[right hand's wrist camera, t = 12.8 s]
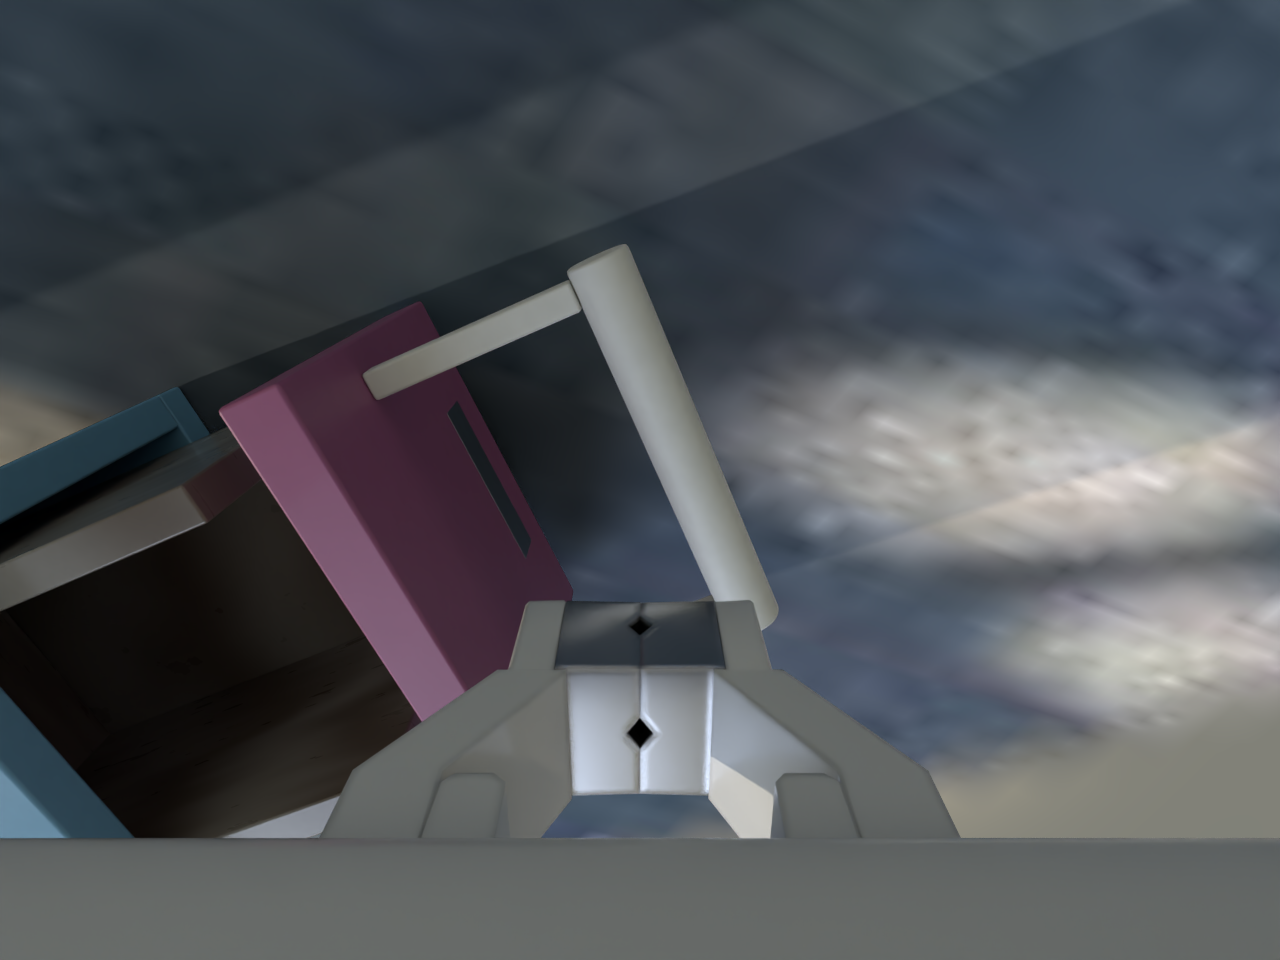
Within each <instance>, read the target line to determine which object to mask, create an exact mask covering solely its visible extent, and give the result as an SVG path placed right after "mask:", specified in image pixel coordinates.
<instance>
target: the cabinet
mask: <svg viewBox="0 0 1280 960" xmlns="http://www.w3.org/2000/svg"><path fill="white" fill-rule="evenodd" d="M207 435H210V433H209V432H208V430H207V429H206V427H205V426H204V424H203V423H202V421H201V420H200V418H199V417H198V415H197V414H196V412H195V411H194V409H193V408H192V406H191V405H190V403H189V402H188V400H187V399H186V397H185V396H184V394H183V393H182V391H181V390H180V388H178V387H174V388H172V389H170V390H168V391H166V392H163V393H161V394H159V395H157V396H155V397H152V398H150V399H148V400H146V401H144V402H141V403H139V404H137V405H135V406H133V407H130V408H128V409H126V410H124V411H122V412H120V413H117V414H115V415H113V416H111V417H109V418H106V419H104V420H102V421H100V422H98V423H95V424H93V425H91V426H89V427H87V428H84V429H82V430H80V431H78V432H76V433H73V434H71V435H69V436H67V437H65V438H62V439H60V440H58V441H56V442H54V443H52V444H49V445H47V446H45V447H43V448H41V449H38V450H36V451H34V452H32V453H30V454H27V455H25V456H23V457H21V458H19V459H16V460H14V461H12V462H10V463H8V464H5V465H3V466H1V467H0V528H2V527H4V526H6V525H8V524H11V523H13V522H15V521H17V520H19V519H22V518H24V517H26V516H28V515H31V514H33V513H35V512H37V511H40V510H42V509H44V508H46V507H49V506H51V505H53V504H55V503H58V502H60V501H62V500H64V499H66V498H69V497H71V496H73V495H75V494H78V493H80V492H82V491H84V490H87V489H89V488H91V487H93V486H96V485H98V484H100V483H102V482H104V481H107V480H109V479H111V478H113V477H116V476H118V475H120V474H122V473H125V472H127V471H129V470H131V469H134V468H136V467H138V466H140V465H143V464H145V463H147V462H149V461H151V460H154V459H156V458H158V457H160V456H163V455H165V454H167V453H169V452H172V451H174V450H176V449H178V448H181V447H183V446H185V445H187V444H189V443H192V442H194V441H196V440H198V439H201V438H203V437H205V436H207ZM0 838H135V837H134V836H133V835H132V834H131V833H130V832H129V831H128V829H127V828H126V827H125V826H124V825H123V824H122V823H121V822H120V820H119V819H118V818H117V817H116V816H115V815H114V814H113V813H112V811H111V810H110V809H109V808H108V807H107V806H106V805H105V804H104V802H103V801H102V800H101V799H100V798H99V797H98V796H97V795H96V794H95V792H94V791H93V790H92V789H91V788H90V787H89V786H88V785H87V783H86V782H85V781H84V780H83V779H82V778H81V777H80V776H79V774H78V773H77V772H76V771H75V770H74V769H73V768H72V767H71V765H70V764H69V763H68V762H67V761H66V760H65V759H64V758H63V757H62V755H61V754H60V753H59V752H58V751H57V750H56V749H55V748H54V746H53V745H52V744H51V743H50V742H49V741H48V740H47V739H46V737H45V736H44V735H43V734H42V733H41V732H40V731H39V730H38V728H37V727H36V726H35V725H34V724H33V723H32V722H31V721H30V719H29V718H28V717H27V716H26V715H25V714H24V713H23V712H22V711H21V709H20V708H19V707H18V706H17V705H16V704H15V703H14V702H13V700H12V699H11V698H10V697H9V696H8V695H7V694H6V693H5V691H4V690H3V689H2V688H1V687H0Z"/></svg>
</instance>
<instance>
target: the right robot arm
mask: <svg viewBox="0 0 1280 960" xmlns="http://www.w3.org/2000/svg"><path fill="white" fill-rule="evenodd" d="M639 793H640V794H675V795H709V800H710V801H711V802H712V803H713V805H714V806H715V807H716V808H717V810H718V811H719V812H720V813H721V815H722V816H723V817H724V818H725V820H726V821H727V822H728V823H729V825H730V826H731V827H732V828H733V830H734V831H735V832H736V834H737V835H738V836H739V837H740V838H541V837H542V835H543V834H544V833H545V832H546V830H547V829H548V828H549V827H550V825H551V824H552V823H553V822H554V820H555V819H556V818H557V817H558V815H559V814H560V813H561V812H562V810H563V809H564V808H565V807H566V805H567V804H568V803H569V802H570V800H571V795H604V794H639ZM0 960H1280V838H961V837H960V835H959V833H958V831H957V829H956V827H955V825H954V823H953V821H952V819H951V817H950V815H949V813H948V811H947V809H946V807H945V804H944V802H943V800H942V798H941V796H940V794H939V792H938V790H937V788H936V786H935V784H934V782H933V780H932V778H931V776H930V773H929V771H928V770H926V769H925V768H923V767H922V766H920V765H919V764H917V763H916V762H915V761H913V760H912V759H910V758H909V757H907V756H906V755H905V754H903V753H902V752H900V751H899V750H897V749H896V748H894V747H893V746H892V745H890V744H889V743H887V742H886V741H884V740H883V739H882V738H880V737H879V736H877V735H876V734H874V733H873V732H872V731H870V730H869V729H867V728H866V727H864V726H863V725H861V724H860V723H859V722H857V721H856V720H854V719H853V718H851V717H850V716H849V715H847V714H846V713H844V712H843V711H841V710H840V709H838V708H837V707H836V706H834V705H833V704H831V703H830V702H828V701H827V700H826V699H824V698H823V697H821V696H820V695H818V694H817V693H815V692H814V691H813V690H811V689H810V688H808V687H807V686H805V685H804V684H803V683H801V682H800V681H798V680H797V679H795V678H794V677H793V676H791V675H790V674H788V673H787V672H785V671H784V670H772V668H771V664H770V661H769V657H768V653H767V650H766V646H765V642H764V639H763V635H762V631H761V628H760V624H759V621H758V617H757V613H756V610H755V606H754V603H753V602H752V601H751V600H736V601H696V602H654V603H640V602H604V601H567V602H565V601H564V600H545V601H529V602H528V603H527V604H526V605H525V609H524V612H523V616H522V620H521V624H520V627H519V631H518V635H517V638H516V642H515V646H514V649H513V653H512V657H511V660H510V664H509V668H508V670H496V671H495V672H493V673H492V674H490V675H489V676H488V677H486V678H485V679H483V680H482V681H480V682H479V683H477V684H476V685H475V686H473V687H472V688H470V689H469V690H467V691H466V692H464V693H463V694H462V695H460V696H459V697H457V698H456V699H454V700H453V701H451V702H450V703H449V704H447V705H446V706H444V707H443V708H441V709H440V710H438V711H437V712H436V713H434V714H433V715H431V716H430V717H428V718H427V719H425V720H424V721H423V722H421V723H420V724H418V725H417V726H415V727H414V728H412V729H411V730H410V731H408V732H407V733H405V734H404V735H402V736H401V737H399V738H398V739H397V740H395V741H394V742H392V743H391V744H389V745H388V746H386V747H385V748H384V749H382V750H381V751H379V752H378V753H376V754H375V755H373V756H372V757H371V758H369V759H368V760H366V761H365V762H363V763H362V764H360V765H359V766H358V767H356V768H355V769H353V770H352V772H351V774H350V776H349V778H348V780H347V782H346V785H345V787H344V789H343V791H342V793H341V795H340V797H339V799H338V801H337V803H336V805H335V807H334V809H333V811H332V813H331V815H330V817H329V819H328V821H327V823H326V825H325V827H324V829H323V831H322V833H321V835H320V837H319V838H0Z"/></svg>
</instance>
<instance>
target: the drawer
mask: <svg viewBox="0 0 1280 960" xmlns="http://www.w3.org/2000/svg"><path fill="white" fill-rule="evenodd" d="M567 275H568V277H569V279H570V280H567V281H564V282H562V283H560V284H558V285H556V286H553V287H551V288H549V289H547V290H544V291H542V292H540V293H538V294H535V295H533V296H531V297H529V298H526V299H524V300H522V301H520V302H517V303H515V304H513V305H511V306H508V307H506V308H504V309H502V310H499V311H497V312H495V313H493V314H490V315H488V316H486V317H484V318H481V319H479V320H477V321H475V322H473V323H470V324H468V325H466V326H464V327H461V328H459V329H457V330H455V331H452V332H450V333H448V334H446V335H443V336H441V337H440V336H439V334H438V332H437V330H436V328H435V327H434V325H433V323H432V321H431V319H430V317H429V315H428V313H427V311H426V309H425V308H424V306H423V304H422V303H421V302H416V303H414V304H412V305H409V306H407V307H405V308H403V309H401V310H398V311H396V312H394V313H392V314H390V315H387V316H385V317H383V318H381V319H380V320H378V321H376V322H374V323H372V324H371V325H369V326H367V327H365V328H363V329H362V330H360V331H358V332H356V333H354V334H353V335H351V336H349V337H347V338H345V339H344V340H342V341H340V342H338V343H336V344H335V345H333V346H331V347H329V348H327V349H326V350H324V351H322V352H320V353H318V354H316V355H315V356H313V357H311V358H309V359H307V360H306V361H304V362H302V363H300V364H298V365H297V366H295V367H293V368H291V369H289V370H288V371H286V372H284V373H282V374H280V375H279V376H277V377H275V378H273V379H271V380H270V381H268V382H266V383H264V384H262V385H261V386H259V387H257V388H255V389H253V390H252V391H250V392H248V393H246V394H244V395H243V396H241V397H239V398H237V399H235V400H234V401H232V402H230V403H228V404H226V405H225V406H223V407H221V408H220V410H219V414H220V416H221V417H222V419H223V420H224V422H225V423H226V425H227V426H228V427H225V428H223V429H221V430H219V431H216V432H214V433H212V434H210V435H207V436H205V437H203V438H201V439H198V440H196V441H194V442H192V443H189V444H187V445H185V446H183V447H181V448H178V449H176V450H174V451H172V452H169V453H167V454H165V455H163V456H160V457H158V458H156V459H154V460H151V461H149V462H147V463H145V464H143V465H140V466H138V467H136V468H134V469H131V470H129V471H127V472H125V473H122V474H120V475H118V476H116V477H113V478H111V479H109V480H107V481H104V482H102V483H100V484H98V485H96V486H93V487H91V488H89V489H87V490H84V491H82V492H80V493H78V494H75V495H73V496H71V497H69V498H66V499H64V500H62V501H60V502H58V503H55V504H53V505H51V506H49V507H46V508H44V509H42V510H40V511H37V512H35V513H33V514H31V515H28V516H26V517H24V518H22V519H19V520H17V521H15V522H13V523H11V524H8V525H6V526H4V527H2V528H0V687H1V688H2V689H3V690H4V691H5V693H6V694H7V695H8V696H9V697H10V698H11V699H12V700H13V702H14V703H15V704H16V705H17V706H18V707H19V708H20V709H21V711H22V712H23V713H24V714H25V715H26V716H27V717H28V718H29V719H30V721H31V722H32V723H33V724H34V725H35V726H36V727H37V728H38V730H39V731H40V732H41V733H42V734H43V735H44V736H45V737H46V739H47V740H48V741H49V742H50V743H51V744H52V745H53V746H54V748H55V749H56V750H57V751H58V752H59V753H60V754H61V755H62V757H63V758H64V759H65V760H66V761H67V762H68V763H69V764H70V765H71V767H72V768H73V769H74V770H75V771H76V772H77V773H78V774H79V776H80V777H81V778H82V779H83V780H84V781H85V782H86V783H87V785H88V786H89V787H90V788H91V789H92V790H93V791H94V792H95V794H96V795H97V796H98V797H99V798H100V799H101V800H102V801H103V802H104V804H105V805H106V806H107V807H108V808H109V809H110V810H111V811H112V813H113V814H114V815H115V816H116V817H117V818H118V819H119V820H120V822H121V823H122V824H123V825H124V826H125V827H126V828H127V829H128V831H129V832H130V833H131V834H132V835H133V836H134V837H135V838H309V837H312V836H315V835H318V834H321V833H322V831H323V829H324V827H325V825H326V823H327V821H328V819H329V817H330V815H331V813H332V811H333V809H334V807H335V805H336V803H337V801H338V799H339V797H340V795H341V793H342V791H343V789H344V787H345V785H346V782H347V780H348V778H349V776H350V774H351V772H352V770H353V769H355V768H356V767H358V766H359V765H360V764H362V763H363V762H365V761H366V760H368V759H369V758H371V757H372V756H373V755H375V754H376V753H378V752H379V751H381V750H382V749H384V748H385V747H386V746H388V745H389V744H391V743H392V742H394V741H395V740H397V739H398V738H399V737H401V736H402V735H404V734H405V733H407V732H408V731H410V730H411V729H412V728H414V727H415V726H417V725H418V724H420V723H421V722H423V721H424V720H425V719H427V718H428V717H430V716H431V715H433V714H434V713H436V712H437V711H438V710H440V709H441V708H443V707H444V706H446V705H447V704H449V703H450V702H451V701H453V700H454V699H456V698H457V697H459V696H460V695H462V694H463V693H464V692H466V691H467V690H469V689H470V688H472V687H473V686H475V685H476V684H477V683H479V682H480V681H482V680H483V679H485V678H486V677H488V676H489V675H490V674H492V673H493V672H495V671H496V670H508V668H509V664H510V660H511V657H512V653H513V649H514V646H515V642H516V638H517V635H518V631H519V627H520V624H521V620H522V616H523V612H524V609H525V605H526V604H527V603H528V602H529V601H545V600H564V601H565V602H567V601H572V596H573V589H572V587H571V585H570V583H569V581H568V579H567V577H566V576H565V574H564V572H563V570H562V568H561V566H560V564H559V562H558V560H557V558H556V557H555V555H554V553H553V551H552V549H551V547H550V545H549V543H548V541H547V539H546V538H545V536H544V534H543V532H542V530H541V528H540V526H539V524H538V522H537V520H536V519H535V517H534V515H533V513H532V511H531V509H530V507H529V505H528V503H527V501H526V500H525V498H524V496H523V494H522V492H521V490H520V488H519V486H518V484H517V482H516V481H515V479H514V477H513V475H512V473H511V471H510V469H509V467H508V465H507V463H506V462H505V460H504V458H503V456H502V454H501V452H500V450H499V448H498V446H497V444H496V443H495V441H494V439H493V437H492V435H491V433H490V431H489V429H488V427H487V425H486V423H485V422H484V420H483V418H482V416H481V414H480V412H479V410H478V408H477V406H476V404H475V403H474V401H473V399H472V397H471V395H470V393H469V391H468V389H467V387H466V385H465V384H464V382H463V380H462V378H461V376H460V374H459V372H458V370H457V368H456V366H458V365H460V364H462V363H465V362H467V361H469V360H471V359H474V358H476V357H478V356H481V355H483V354H485V353H487V352H490V351H492V350H494V349H497V348H499V347H501V346H503V345H506V344H508V343H510V342H513V341H515V340H517V339H519V338H522V337H524V336H526V335H529V334H531V333H533V332H535V331H538V330H540V329H542V328H544V327H547V326H549V325H551V324H554V323H556V322H558V321H560V320H563V319H565V318H567V317H570V316H572V315H574V314H576V313H579V312H580V311H581V309H582V308H583V310H584V313H585V315H586V317H587V319H588V322H589V324H590V326H591V328H592V330H593V333H594V335H595V337H596V339H597V341H598V344H599V346H600V348H601V350H602V353H603V355H604V357H605V359H606V361H607V364H608V366H609V368H610V370H611V373H612V375H613V377H614V379H615V381H616V384H617V386H618V388H619V390H620V393H621V395H622V397H623V399H624V401H625V404H626V406H627V408H628V410H629V413H630V415H631V417H632V419H633V421H634V424H635V426H636V428H637V430H638V433H639V435H640V437H641V439H642V441H643V444H644V446H645V448H646V450H647V452H648V455H649V457H650V459H651V461H652V464H653V466H654V468H655V470H656V472H657V475H658V477H659V479H660V481H661V484H662V486H663V488H664V490H665V492H666V495H667V497H668V499H669V501H670V504H671V506H672V508H673V510H674V512H675V515H676V517H677V519H678V521H679V524H680V526H681V528H682V530H683V532H684V535H685V537H686V539H687V541H688V544H689V546H690V548H691V550H692V552H693V555H694V557H695V559H696V561H697V564H698V566H699V568H700V570H701V572H702V575H703V577H704V579H705V581H706V583H707V586H708V588H709V590H710V592H711V595H710V596H707V597H704V598H702V599H699V600H696V601H736V600H751V601H752V602H753V603H754V606H755V610H756V613H757V617H758V621H759V624H760V628H761V630H763V629H765V628H766V627H768V626H769V625H770V624H771V623H772V622H773V621H774V620H775V619H776V617H777V615H778V605H777V602H776V600H775V597H774V595H773V593H772V590H771V588H770V585H769V583H768V581H767V578H766V576H765V573H764V571H763V569H762V566H761V564H760V561H759V559H758V557H757V554H756V552H755V549H754V547H753V545H752V542H751V540H750V537H749V535H748V533H747V530H746V528H745V525H744V523H743V521H742V518H741V516H740V513H739V511H738V509H737V506H736V504H735V501H734V499H733V496H732V494H731V492H730V489H729V487H728V484H727V482H726V480H725V477H724V475H723V472H722V470H721V468H720V465H719V463H718V460H717V458H716V456H715V453H714V451H713V448H712V446H711V444H710V441H709V439H708V436H707V434H706V432H705V429H704V427H703V424H702V422H701V420H700V417H699V415H698V412H697V410H696V408H695V405H694V403H693V400H692V398H691V396H690V393H689V391H688V388H687V386H686V384H685V381H684V379H683V376H682V374H681V372H680V369H679V367H678V364H677V362H676V359H675V357H674V355H673V352H672V350H671V347H670V345H669V343H668V340H667V338H666V335H665V333H664V331H663V328H662V326H661V323H660V321H659V319H658V316H657V314H656V311H655V309H654V307H653V304H652V302H651V299H650V297H649V295H648V292H647V290H646V287H645V285H644V283H643V280H642V278H641V275H640V273H639V271H638V268H637V266H636V263H635V261H634V259H633V256H632V254H631V251H630V249H629V247H628V246H627V245H626V244H621V245H618V246H615V247H612V248H610V249H607V250H605V251H603V252H600V253H598V254H596V255H594V256H592V257H589V258H587V259H585V260H583V261H581V262H579V263H577V264H576V265H574V266H572V267H571V268H570V269H569V270H568V271H567ZM696 601H694V602H696Z"/></svg>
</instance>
